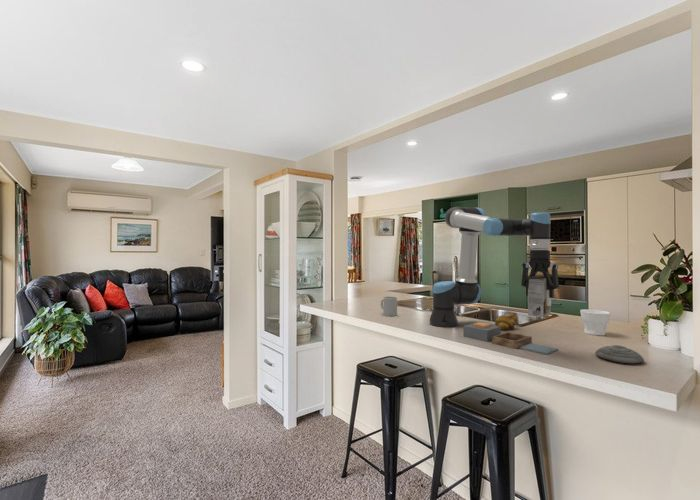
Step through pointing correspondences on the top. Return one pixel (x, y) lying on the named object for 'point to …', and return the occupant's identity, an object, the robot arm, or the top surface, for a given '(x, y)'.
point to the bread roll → (506, 321)
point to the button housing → (481, 332)
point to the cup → (595, 321)
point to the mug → (389, 306)
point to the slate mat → (538, 348)
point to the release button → (482, 325)
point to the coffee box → (538, 297)
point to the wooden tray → (504, 340)
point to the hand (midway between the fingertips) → (539, 304)
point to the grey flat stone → (619, 354)
